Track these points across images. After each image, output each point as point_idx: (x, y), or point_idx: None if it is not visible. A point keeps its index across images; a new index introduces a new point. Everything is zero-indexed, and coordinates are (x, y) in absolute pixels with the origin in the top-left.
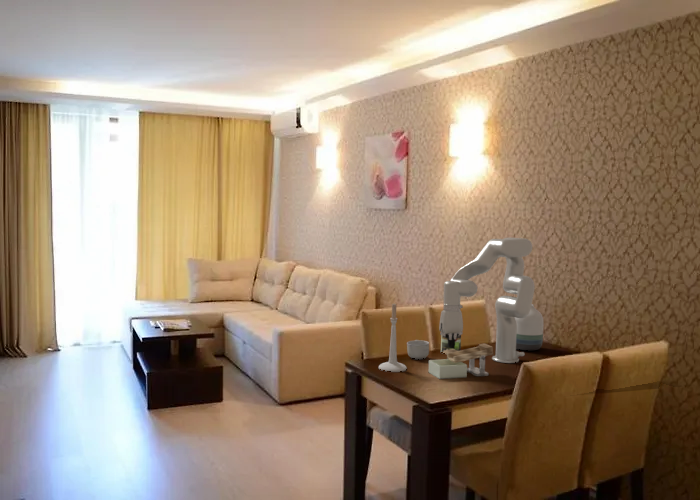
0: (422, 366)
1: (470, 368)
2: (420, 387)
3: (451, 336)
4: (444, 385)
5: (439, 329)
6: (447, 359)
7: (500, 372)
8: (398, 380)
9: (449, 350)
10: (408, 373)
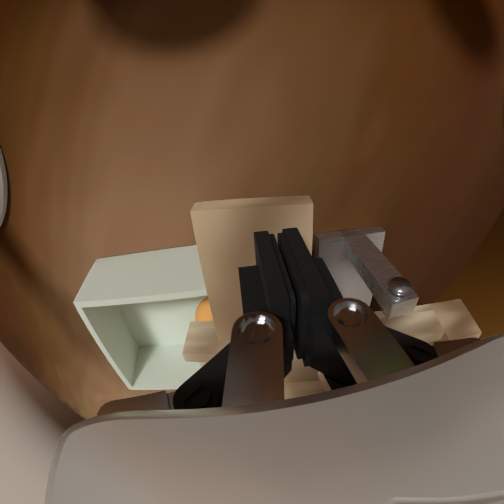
0: (81, 126)
1: (342, 250)
2: (81, 389)
3: (334, 333)
4: (147, 390)
5: (54, 460)
6: (197, 296)
7: (428, 274)
8: (14, 333)
9: (253, 241)
10: (20, 264)
